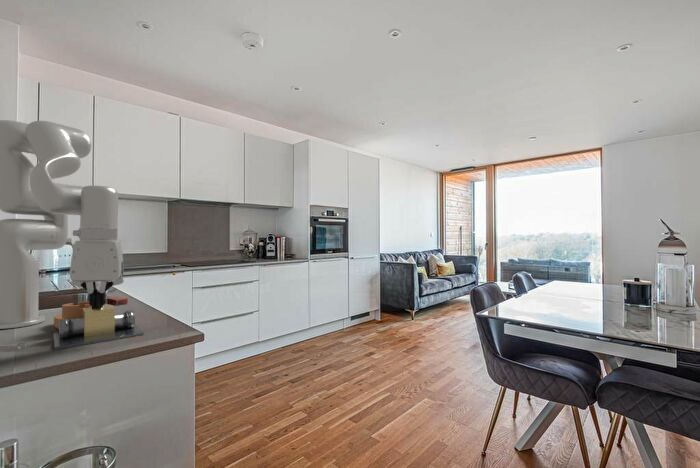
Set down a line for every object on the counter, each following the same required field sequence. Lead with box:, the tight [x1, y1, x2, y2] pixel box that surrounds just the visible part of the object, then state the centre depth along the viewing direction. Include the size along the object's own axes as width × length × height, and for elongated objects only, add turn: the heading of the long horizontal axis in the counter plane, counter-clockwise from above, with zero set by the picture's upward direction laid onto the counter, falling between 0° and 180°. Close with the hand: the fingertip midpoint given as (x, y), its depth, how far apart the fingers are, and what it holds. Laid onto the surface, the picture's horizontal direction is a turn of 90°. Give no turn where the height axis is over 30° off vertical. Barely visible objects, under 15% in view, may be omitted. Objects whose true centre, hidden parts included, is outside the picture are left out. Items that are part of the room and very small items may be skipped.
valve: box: [53, 304, 145, 351], centre depth 89 cm, size 15×18×9 cm
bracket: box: [53, 300, 92, 330], centre depth 97 cm, size 18×8×7 cm, turn 51°
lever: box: [105, 293, 129, 307], centre depth 87 cm, size 14×4×2 cm, turn 60°
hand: (97, 308), depth 83 cm, fingers closed
